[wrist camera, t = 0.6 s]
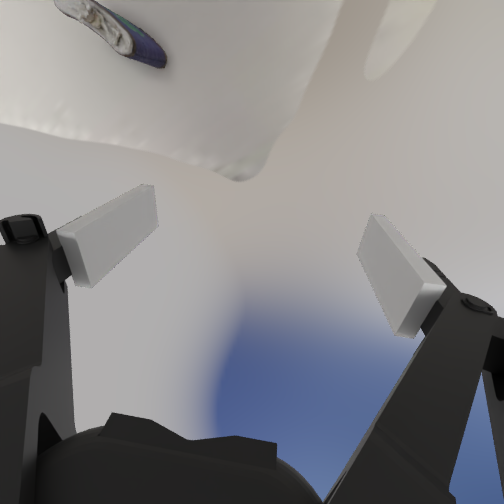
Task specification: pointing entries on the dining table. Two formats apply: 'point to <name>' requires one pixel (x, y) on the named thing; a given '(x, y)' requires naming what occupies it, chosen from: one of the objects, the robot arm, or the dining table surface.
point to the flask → (115, 31)
